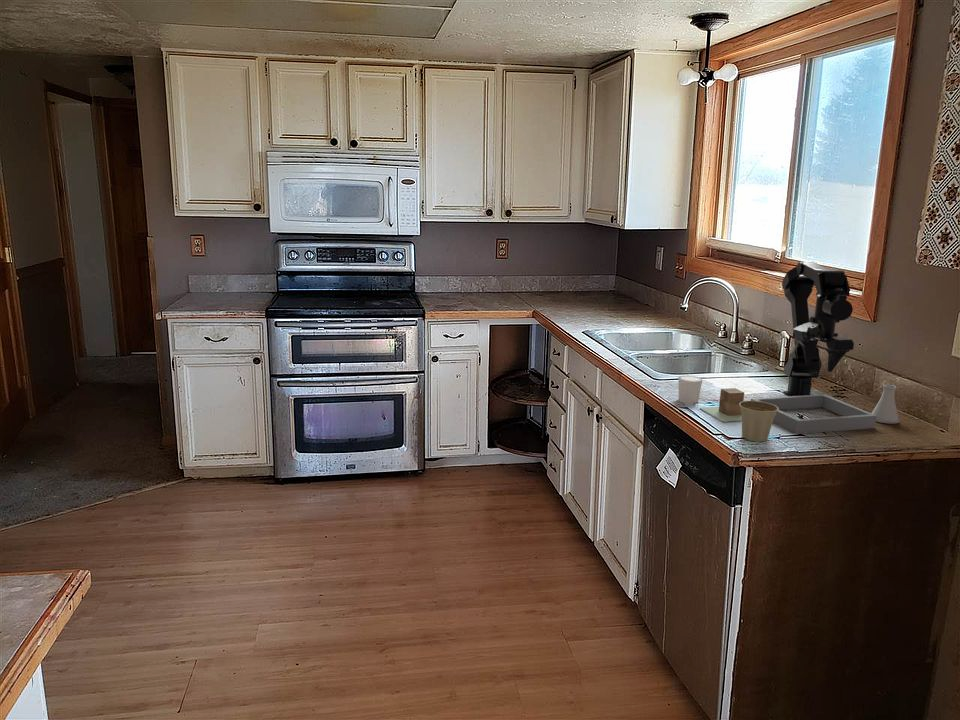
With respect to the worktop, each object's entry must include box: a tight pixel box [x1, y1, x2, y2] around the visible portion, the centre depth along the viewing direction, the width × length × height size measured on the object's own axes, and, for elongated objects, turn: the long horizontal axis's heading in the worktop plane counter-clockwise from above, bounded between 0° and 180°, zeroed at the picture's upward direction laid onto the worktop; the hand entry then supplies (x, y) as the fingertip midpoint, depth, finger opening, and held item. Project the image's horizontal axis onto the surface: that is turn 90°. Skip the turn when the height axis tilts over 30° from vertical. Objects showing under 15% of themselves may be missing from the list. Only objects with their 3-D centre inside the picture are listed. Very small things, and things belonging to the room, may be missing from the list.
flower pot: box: [739, 400, 779, 443], centre depth 187 cm, size 9×9×9 cm
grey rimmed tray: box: [750, 393, 877, 435], centre depth 204 cm, size 20×24×4 cm
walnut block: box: [718, 387, 745, 416], centre depth 206 cm, size 4×4×6 cm
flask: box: [871, 384, 900, 425], centre depth 204 cm, size 7×7×10 cm
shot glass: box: [677, 375, 703, 405], centre depth 218 cm, size 7×7×7 cm
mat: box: [699, 406, 742, 423], centre depth 207 cm, size 12×12×1 cm
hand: (818, 367), depth 212 cm, fingers open, 9 cm apart
